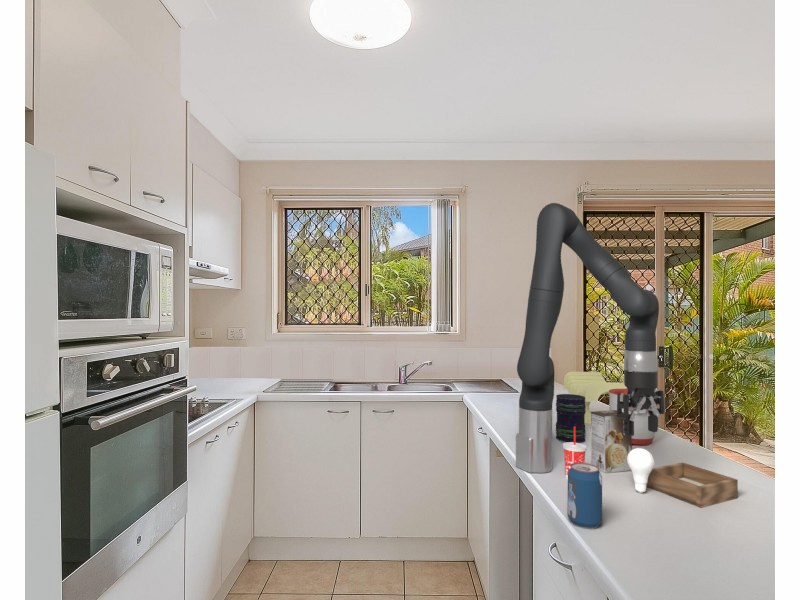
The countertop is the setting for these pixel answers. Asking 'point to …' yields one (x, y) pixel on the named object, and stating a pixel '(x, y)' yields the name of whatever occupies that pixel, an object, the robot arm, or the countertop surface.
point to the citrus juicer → (640, 420)
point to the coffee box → (609, 442)
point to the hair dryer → (589, 387)
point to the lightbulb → (640, 467)
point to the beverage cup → (573, 453)
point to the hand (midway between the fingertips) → (641, 433)
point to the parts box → (693, 484)
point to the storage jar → (570, 417)
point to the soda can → (584, 495)
